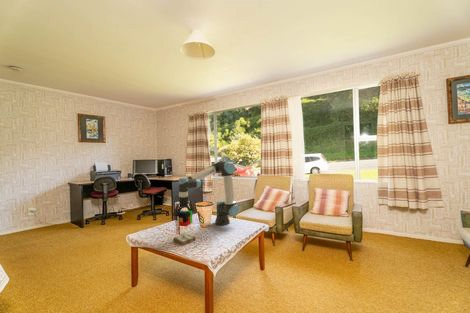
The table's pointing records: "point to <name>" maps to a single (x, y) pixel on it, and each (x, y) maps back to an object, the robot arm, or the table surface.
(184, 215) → the puzzle toy
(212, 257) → the table surface
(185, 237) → the plinth
